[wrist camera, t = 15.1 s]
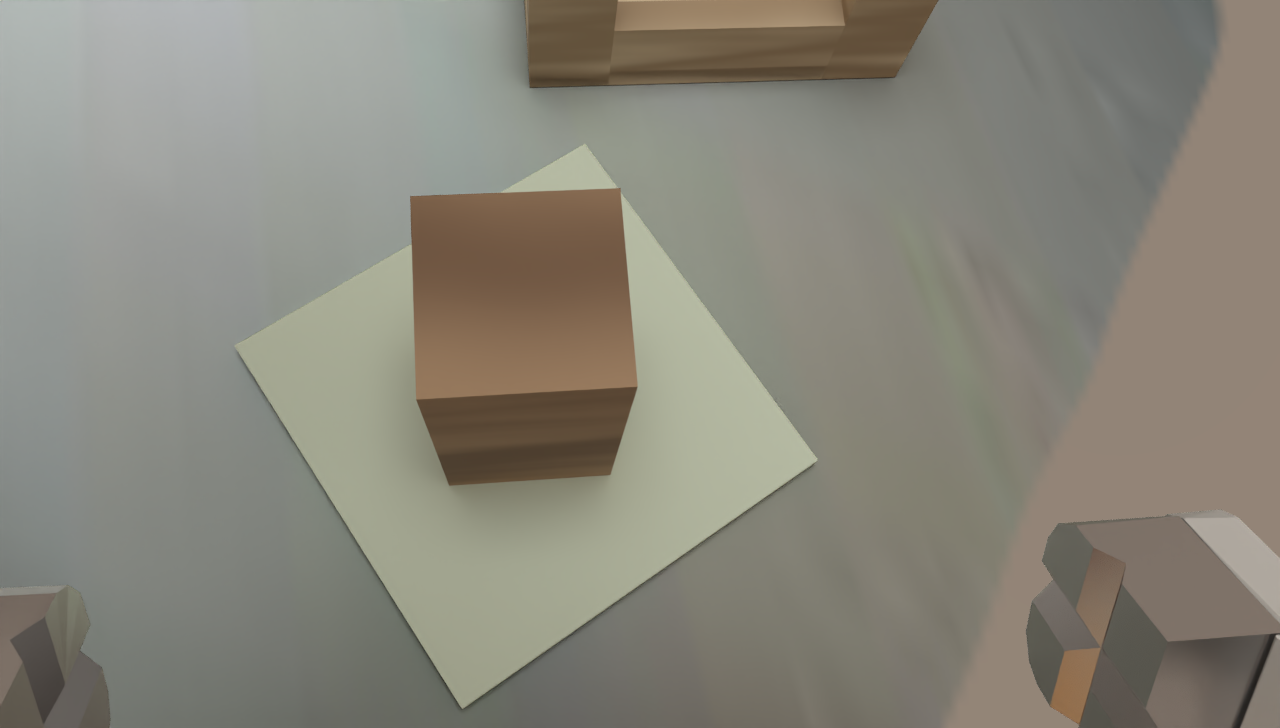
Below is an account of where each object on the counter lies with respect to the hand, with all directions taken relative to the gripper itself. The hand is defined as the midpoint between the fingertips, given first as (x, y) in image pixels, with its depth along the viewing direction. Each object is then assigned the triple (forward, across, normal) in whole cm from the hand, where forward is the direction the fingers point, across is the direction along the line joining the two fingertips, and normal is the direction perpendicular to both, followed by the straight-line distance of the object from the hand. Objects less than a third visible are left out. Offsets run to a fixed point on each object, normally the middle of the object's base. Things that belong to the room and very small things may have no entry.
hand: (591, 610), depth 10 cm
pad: (+21, 0, +10) cm, 23 cm away
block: (+20, 0, +10) cm, 23 cm away
